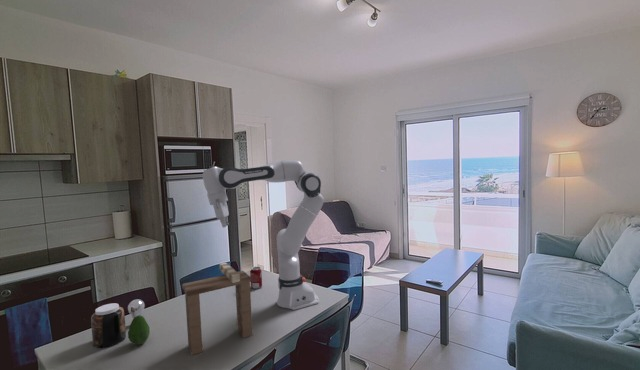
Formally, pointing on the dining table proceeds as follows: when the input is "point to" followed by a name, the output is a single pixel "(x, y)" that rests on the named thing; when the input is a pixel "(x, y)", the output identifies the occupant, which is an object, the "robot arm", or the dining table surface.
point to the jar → (108, 326)
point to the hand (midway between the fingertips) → (225, 226)
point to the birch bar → (229, 272)
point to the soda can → (256, 277)
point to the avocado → (138, 330)
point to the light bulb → (136, 308)
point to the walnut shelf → (213, 284)
